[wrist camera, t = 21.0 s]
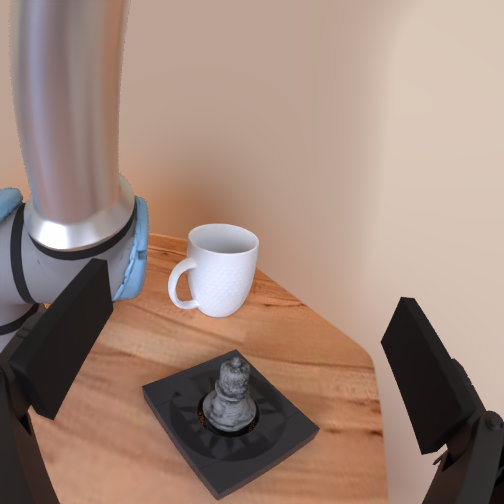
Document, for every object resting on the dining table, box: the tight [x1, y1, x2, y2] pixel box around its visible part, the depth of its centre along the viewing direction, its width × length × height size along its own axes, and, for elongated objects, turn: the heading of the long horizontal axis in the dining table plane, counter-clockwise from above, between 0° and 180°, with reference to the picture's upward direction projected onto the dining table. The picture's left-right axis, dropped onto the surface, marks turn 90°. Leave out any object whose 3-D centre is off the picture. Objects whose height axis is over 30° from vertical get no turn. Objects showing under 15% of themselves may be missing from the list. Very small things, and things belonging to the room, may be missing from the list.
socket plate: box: [142, 349, 320, 500], centre depth 32 cm, size 16×14×2 cm
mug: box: [168, 224, 259, 317], centre depth 49 cm, size 15×11×13 cm
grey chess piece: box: [203, 356, 256, 438], centre depth 30 cm, size 6×6×12 cm
